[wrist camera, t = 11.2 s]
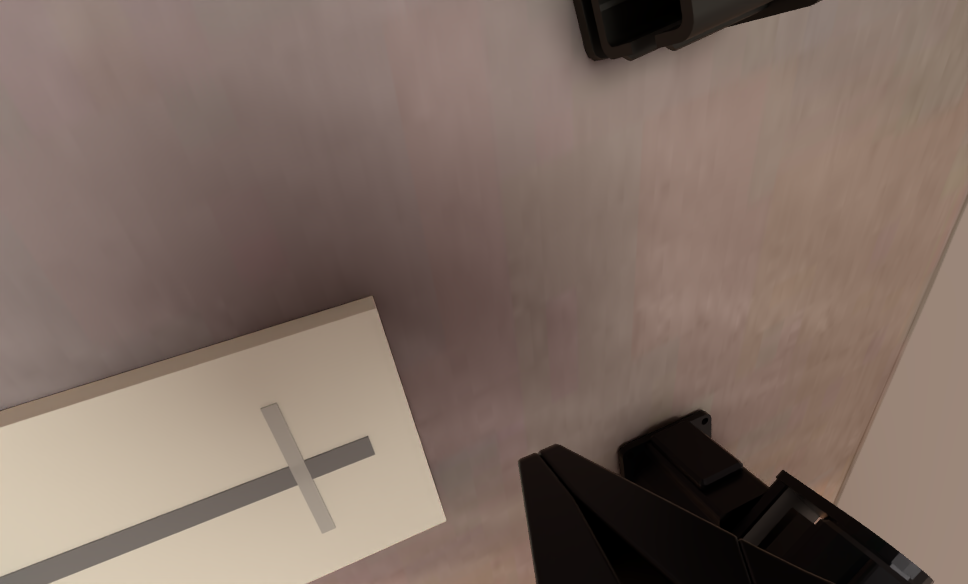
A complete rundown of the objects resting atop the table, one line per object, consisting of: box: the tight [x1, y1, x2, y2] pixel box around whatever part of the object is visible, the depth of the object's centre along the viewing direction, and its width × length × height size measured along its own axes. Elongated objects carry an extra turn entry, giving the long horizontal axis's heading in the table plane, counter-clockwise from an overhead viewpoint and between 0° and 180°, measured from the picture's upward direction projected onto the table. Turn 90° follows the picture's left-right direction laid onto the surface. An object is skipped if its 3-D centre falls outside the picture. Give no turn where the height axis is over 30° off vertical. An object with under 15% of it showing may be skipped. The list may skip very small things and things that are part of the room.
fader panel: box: [0, 296, 446, 584], centre depth 18 cm, size 12×24×2 cm, turn 102°
